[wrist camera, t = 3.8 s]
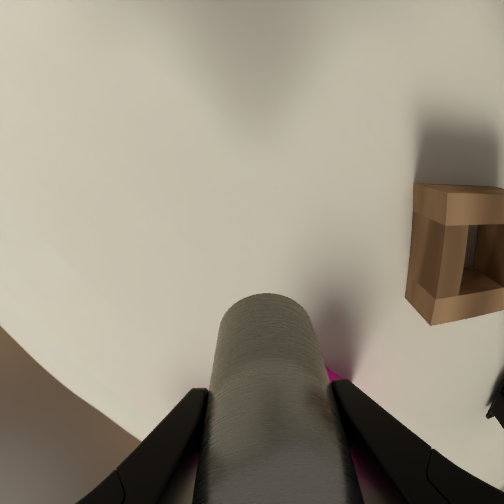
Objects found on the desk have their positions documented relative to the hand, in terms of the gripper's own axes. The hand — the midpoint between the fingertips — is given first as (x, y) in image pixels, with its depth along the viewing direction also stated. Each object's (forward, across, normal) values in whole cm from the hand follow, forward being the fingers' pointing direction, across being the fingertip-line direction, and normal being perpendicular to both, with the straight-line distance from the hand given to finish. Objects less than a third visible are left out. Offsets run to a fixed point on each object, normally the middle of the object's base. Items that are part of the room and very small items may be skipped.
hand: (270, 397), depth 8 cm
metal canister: (+3, 0, 0) cm, 3 cm away
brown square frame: (+12, -14, 0) cm, 19 cm away
